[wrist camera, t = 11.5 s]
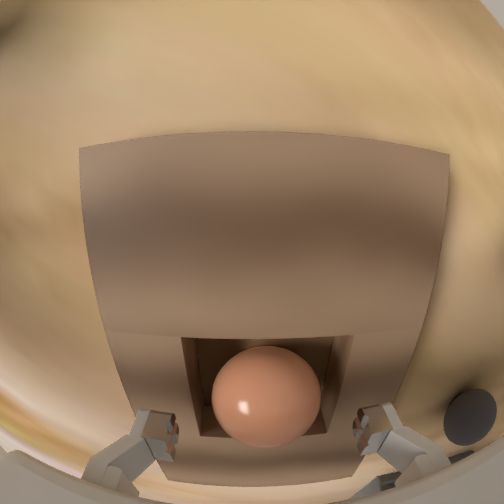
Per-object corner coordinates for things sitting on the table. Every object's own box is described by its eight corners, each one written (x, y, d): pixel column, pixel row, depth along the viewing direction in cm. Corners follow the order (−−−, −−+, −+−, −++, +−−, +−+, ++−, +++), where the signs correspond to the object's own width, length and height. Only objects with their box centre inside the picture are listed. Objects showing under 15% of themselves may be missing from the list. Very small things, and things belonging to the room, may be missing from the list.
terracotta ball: (305, 393, 15) (319, 461, 10) (219, 394, 15) (212, 465, 10) (316, 323, 13) (343, 395, 8) (213, 325, 13) (198, 400, 8)
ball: (464, 410, 17) (486, 443, 12) (426, 424, 17) (447, 464, 12) (486, 371, 15) (515, 405, 11) (449, 385, 15) (478, 427, 11)
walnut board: (345, 453, 17) (351, 476, 15) (172, 456, 17) (167, 479, 15) (417, 154, 11) (449, 154, 8) (109, 149, 11) (79, 148, 8)
